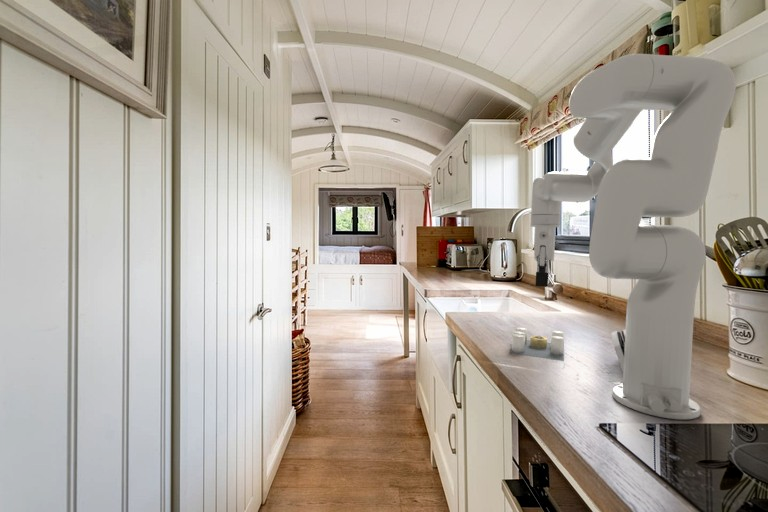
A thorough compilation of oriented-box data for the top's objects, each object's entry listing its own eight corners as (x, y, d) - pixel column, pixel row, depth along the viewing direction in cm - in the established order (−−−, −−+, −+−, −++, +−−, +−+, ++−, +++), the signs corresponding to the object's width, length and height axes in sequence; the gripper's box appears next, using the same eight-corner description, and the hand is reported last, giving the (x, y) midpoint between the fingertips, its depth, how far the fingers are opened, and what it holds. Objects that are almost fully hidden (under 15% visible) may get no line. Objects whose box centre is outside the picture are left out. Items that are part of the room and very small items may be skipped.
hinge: (655, 385, 75) (637, 336, 77) (628, 388, 78) (611, 340, 79) (647, 363, 90) (632, 322, 91) (624, 366, 92) (610, 326, 93)
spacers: (563, 359, 90) (564, 343, 89) (510, 351, 95) (510, 336, 95) (563, 346, 101) (564, 331, 101) (516, 340, 107) (516, 326, 106)
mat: (563, 362, 89) (563, 360, 89) (509, 354, 94) (509, 352, 94) (563, 346, 103) (563, 344, 103) (516, 340, 108) (516, 338, 108)
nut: (546, 349, 98) (546, 340, 98) (529, 347, 100) (530, 338, 99) (546, 345, 102) (547, 336, 102) (531, 343, 104) (531, 334, 104)
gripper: (559, 220, 97) (555, 290, 98) (559, 222, 110) (556, 284, 111) (528, 220, 100) (525, 288, 101) (532, 222, 114) (529, 282, 115)
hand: (541, 286), depth 106 cm, fingers closed
